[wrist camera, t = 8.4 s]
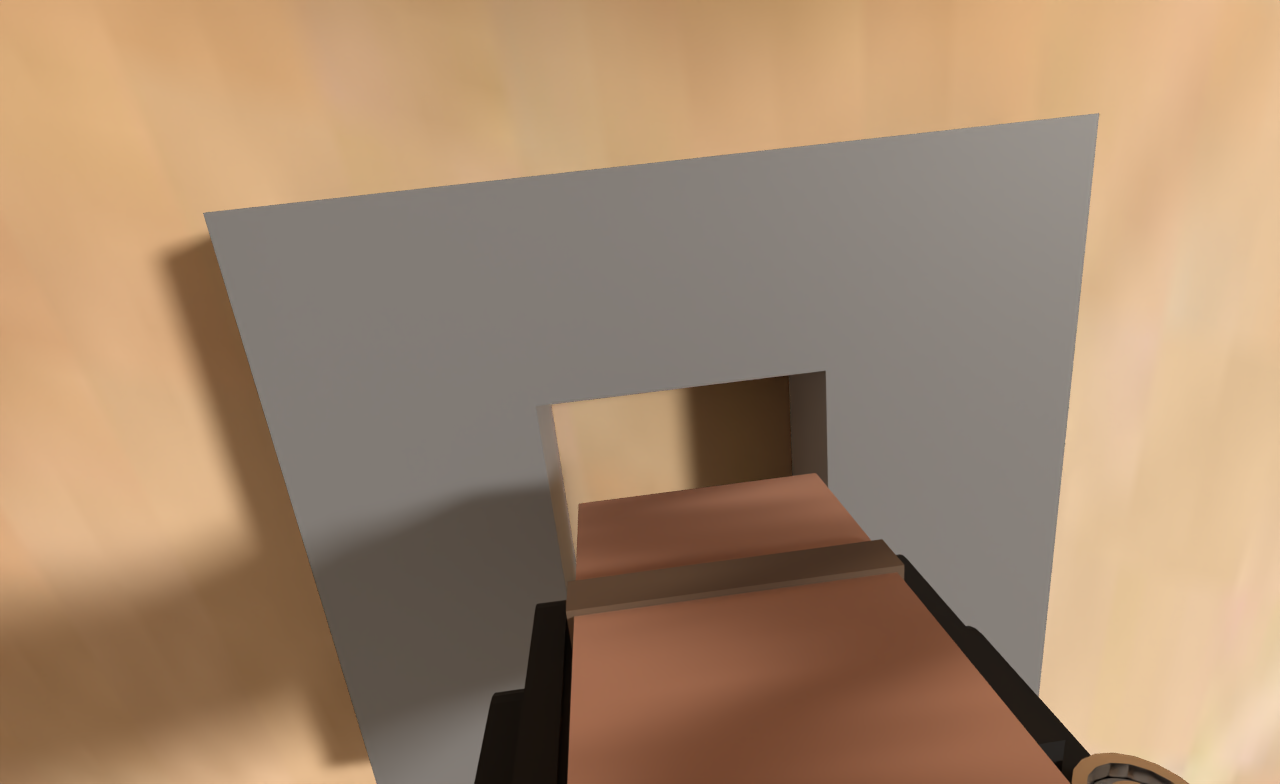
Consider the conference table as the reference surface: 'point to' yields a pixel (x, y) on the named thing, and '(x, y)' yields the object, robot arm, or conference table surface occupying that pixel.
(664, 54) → the conference table surface
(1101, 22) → the conference table surface
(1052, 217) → the board
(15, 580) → the conference table surface
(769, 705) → the peg
